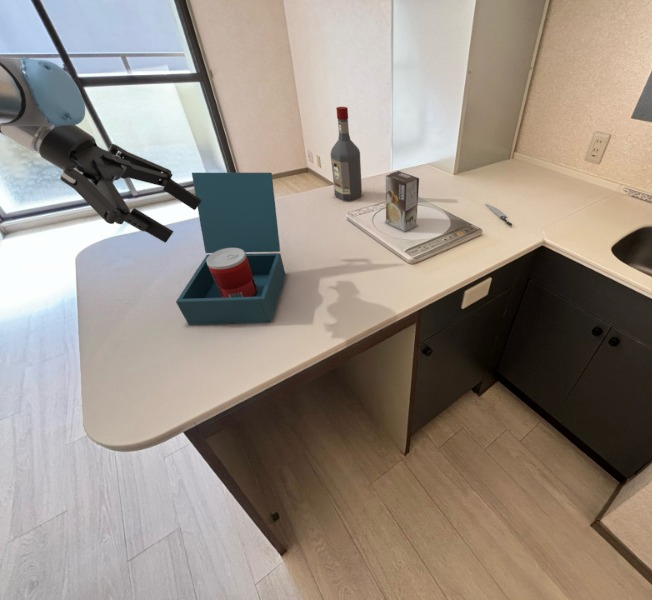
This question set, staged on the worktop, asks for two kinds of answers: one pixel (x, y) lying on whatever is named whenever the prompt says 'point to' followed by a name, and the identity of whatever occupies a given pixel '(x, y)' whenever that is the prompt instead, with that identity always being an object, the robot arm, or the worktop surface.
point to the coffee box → (401, 200)
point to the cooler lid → (237, 211)
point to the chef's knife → (499, 214)
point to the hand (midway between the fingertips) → (185, 220)
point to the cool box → (210, 308)
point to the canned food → (232, 273)
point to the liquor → (346, 162)
